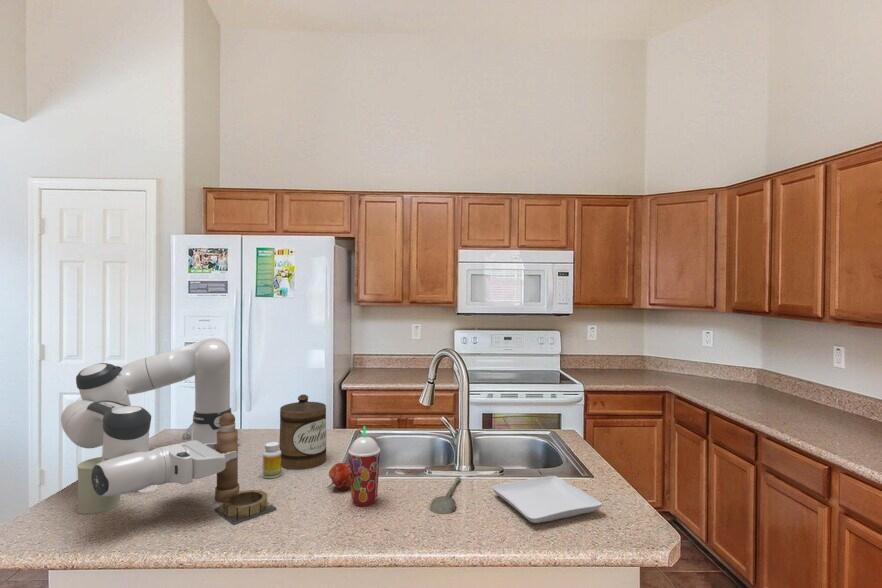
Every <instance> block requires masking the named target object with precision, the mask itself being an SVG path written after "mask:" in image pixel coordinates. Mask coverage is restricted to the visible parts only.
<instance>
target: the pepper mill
mask: <svg viewBox="0 0 882 588" xmlns="http://www.w3.org/2000/svg"><path fill="white" fill-rule="evenodd" d="M219 423H220V424H219V431H217V452H219V453H221V454H223V453H224V454H225V453H228V451H232V450H235V451H237V458H234V459H231V460H229V461H228V462H226V468H225V469H224V470H223V471H221V472H219V473H216V486H215V488H214V500H216V501H215V502H217V501H218V502H217V503H223V501H224V499H225V498H226V497H228V496H229V495H232V494H234V493H237V492H240V483H238V482H239V479H238V477H239V476H238V475H239V473H238V472H239V471H238V470H239V469H238V468H239V465H238V463H239V460H238V459H239V458H238V457H239V453H238V452H239V451H238V450H239V448H238V447H239V445H238V441H239V440H238V438H239V437H238V434H239V433H238V432H239V431H238V429H237V428H236V416H235V415H234V414H233V413H232V414H231V413H224V414H223V415H222V416H221V417H220V419H219Z"/></svg>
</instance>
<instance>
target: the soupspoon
mask: <svg viewBox="0 0 882 588" xmlns="http://www.w3.org/2000/svg"><path fill="white" fill-rule="evenodd" d="M458 483H462V478H461V477H460V476H457V477H456V478H455V480H454V482H453V483H452V484H451V486H450V487H449V490H448V491H447V492H446V494H445V495H442V496H438V497H435V498H433V500H432V501H431V502H430V505H429V508H430V511H431V512H432V514H433V513H434V514H436V515H449V514H452V513H453V512H454V511H455V509H456V505H457V503H456V502H457V501H456V500H455V498H453V497H451V496H450V495H451V492H452V490H453V489H454V487H455V486H456V484H458Z"/></svg>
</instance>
